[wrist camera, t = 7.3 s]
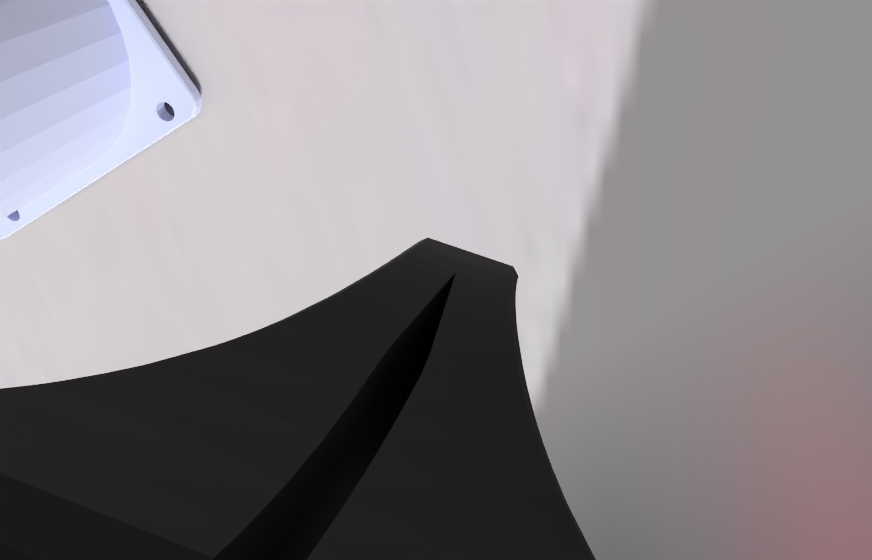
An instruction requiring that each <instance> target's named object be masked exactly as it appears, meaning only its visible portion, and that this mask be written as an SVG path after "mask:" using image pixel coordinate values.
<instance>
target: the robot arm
mask: <svg viewBox="0 0 872 560" xmlns="http://www.w3.org/2000/svg"><path fill="white" fill-rule="evenodd" d="M165 102H166V103H168V104H169V105H171V106H172V108H173V110H174V116H172V115H170V114H169V113H168V112H167V111H166V109H165ZM201 108H202V97H201V95H200V93H199V91H198V90H197V88H196V87H195V85H194V84H193V82H192V81H191V79H190V78H189V77H188V75H187V74H186V72H185V71H184V69H183V68H182V66H181V65H180V64H179V62H178V61H177V59H176V58H175V56H174V55H173V53H172V52H171V51H170V49H169V48H168V46H167V45H166V43H165V42H164V40H163V39H162V38H161V36H160V35H159V33H158V32H157V30H156V29H155V27H154V26H153V25H152V23H151V22H150V20H149V19H148V17H147V16H146V14H145V13H144V12H143V10H142V9H141V7H140V6H139V4H138V3H137V1H136V0H0V239H5V238H7V237H8V236H10V235H11V234H13V233H14V232H16V231H18V230H19V229H21V228H22V227H24V226H25V225H27V224H28V223H30V222H32V221H33V220H35V219H36V218H38V217H39V216H41V215H42V214H44V213H46V212H47V211H49V210H50V209H52V208H53V207H55V206H56V205H58V204H60V203H61V202H63V201H64V200H66V199H67V198H69V197H70V196H72V195H74V194H75V193H77V192H78V191H80V190H81V189H83V188H84V187H86V186H88V185H89V184H91V183H92V182H94V181H95V180H97V179H98V178H100V177H102V176H103V175H105V174H106V173H108V172H109V171H111V170H112V169H114V168H116V167H117V166H119V165H120V164H122V163H123V162H125V161H127V160H128V159H130V158H131V157H133V156H134V155H136V154H137V153H139V152H141V151H142V150H144V149H145V148H147V147H148V146H150V145H151V144H153V143H155V142H156V141H158V140H159V139H161V138H162V137H164V136H165V135H167V134H169V133H170V132H172V131H173V130H175V129H176V128H178V127H179V126H181V125H183V124H184V123H186V122H187V121H189V120H190V119H192V118H193V117H195V116H197V115H198V113H199V112H200V111H201ZM16 210H17V211H18V212H19V213H17V212H16ZM517 279H518V275H517V273H516V271H515V269H514V267H513V266H510V265H507V264H504V263H501V262H498V261H495V260H492V259H489V258H486V257H483V256H480V255H477V254H474V253H471V252H468V251H466V250H463V249H460V248H457V247H454V246H451V245H448V244H445V243H442V242H439V241H436V240H433V239H430V238H426V239H424V240H422V241H420V242H418V243H416V244H415V245H413V246H412V247H410V248H409V249H407V250H406V251H404V252H403V253H401V254H400V255H398V256H397V257H395V258H394V259H392V260H391V261H389V262H388V263H386V264H385V265H383V266H381V267H380V268H378V269H377V270H375V271H373V272H372V273H370V274H368V275H367V276H365V277H363V278H361V279H360V280H358V281H356V282H355V283H353V284H351V285H349V286H348V287H346V288H344V289H342V290H341V291H339V292H337V293H335V294H334V295H332V296H330V297H328V298H326V299H324V300H322V301H320V302H318V303H316V304H314V305H312V306H310V307H308V308H306V309H304V310H302V311H300V312H298V313H296V314H294V315H291V316H289V317H287V318H285V319H283V320H281V321H278V322H276V323H274V324H271V325H269V326H267V327H265V328H262V329H260V330H257V331H255V332H252V333H249V334H247V335H244V336H241V337H238V338H236V339H233V340H230V341H227V342H224V343H221V344H218V345H215V346H212V347H208V348H204V349H201V350H197V351H194V352H190V353H186V354H183V355H179V356H176V357H172V358H168V359H165V360H161V361H158V362H154V363H151V364H146V365H142V366H138V367H133V368H128V369H123V370H119V371H114V372H109V373H105V374H99V375H93V376H88V377H82V378H76V379H71V380H65V381H59V382H52V383H45V384H39V385H31V386H22V387H13V388H4V389H0V560H596V559H595V557H594V555H593V553H592V551H591V550H590V548H589V546H588V544H587V542H586V540H585V538H584V536H583V534H582V532H581V530H580V528H579V526H578V524H577V522H576V520H575V518H574V516H573V515H572V512H571V510H570V508H569V506H568V504H567V502H566V500H565V497H564V495H563V493H562V490H561V488H560V486H559V483H558V481H557V478H556V476H555V474H554V471H553V469H552V466H551V463H550V461H549V458H548V455H547V453H546V450H545V447H544V444H543V442H542V438H541V435H540V432H539V429H538V426H537V422H536V419H535V416H534V412H533V408H532V404H531V401H530V397H529V393H528V389H527V385H526V380H525V375H524V370H523V365H522V359H521V353H520V347H519V340H518V333H517V324H516V308H515V295H516V284H517Z"/></svg>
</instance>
